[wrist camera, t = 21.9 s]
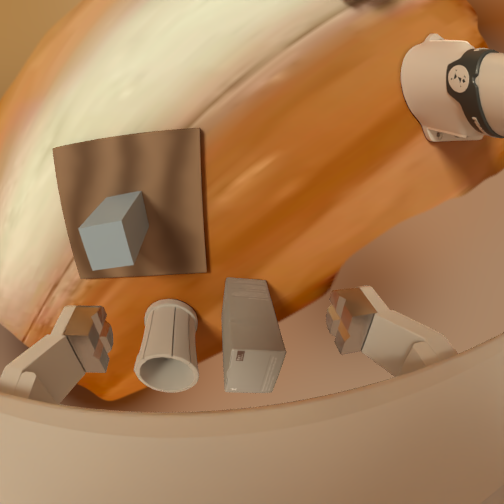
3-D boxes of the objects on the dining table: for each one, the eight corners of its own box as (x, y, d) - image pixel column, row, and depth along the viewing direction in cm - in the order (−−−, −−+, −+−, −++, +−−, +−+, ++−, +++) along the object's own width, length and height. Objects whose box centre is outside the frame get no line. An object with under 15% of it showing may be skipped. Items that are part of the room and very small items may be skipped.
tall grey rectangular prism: (141, 190, 35) (121, 220, 26) (149, 226, 37) (133, 264, 28) (106, 197, 34) (78, 228, 25) (115, 231, 37) (92, 270, 28)
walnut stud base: (199, 127, 33) (198, 132, 27) (206, 268, 43) (207, 296, 37) (55, 147, 30) (31, 157, 25) (82, 275, 40) (68, 301, 34)
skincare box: (258, 318, 49) (277, 394, 35) (215, 316, 47) (223, 396, 34) (267, 276, 45) (294, 353, 31) (221, 273, 43) (230, 353, 30)
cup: (189, 347, 50) (189, 402, 40) (139, 336, 47) (130, 391, 37) (203, 304, 46) (206, 361, 35) (148, 291, 43) (136, 347, 33)
